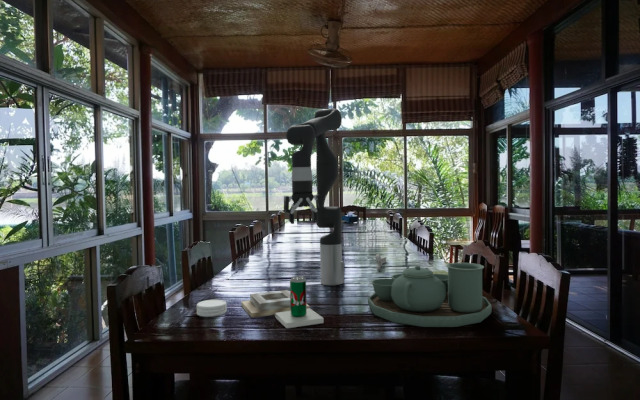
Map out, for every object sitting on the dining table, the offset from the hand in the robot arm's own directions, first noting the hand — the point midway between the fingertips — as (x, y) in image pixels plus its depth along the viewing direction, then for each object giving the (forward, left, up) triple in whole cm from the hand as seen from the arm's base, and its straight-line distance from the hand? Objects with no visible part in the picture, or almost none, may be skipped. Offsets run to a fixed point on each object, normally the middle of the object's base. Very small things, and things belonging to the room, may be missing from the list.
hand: (303, 222), depth 164 cm
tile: (+11, +24, -29) cm, 39 cm away
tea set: (-33, +31, -29) cm, 54 cm away
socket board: (+14, +7, -29) cm, 32 cm away
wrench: (-58, -43, -29) cm, 78 cm away
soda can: (+11, +24, -27) cm, 38 cm away
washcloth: (-62, -5, -29) cm, 69 cm away
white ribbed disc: (+35, +3, -29) cm, 45 cm away
